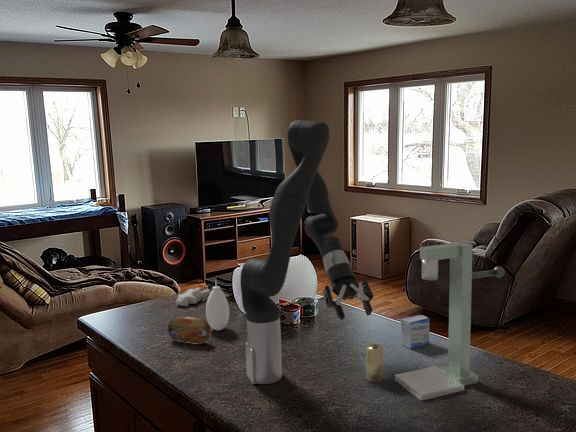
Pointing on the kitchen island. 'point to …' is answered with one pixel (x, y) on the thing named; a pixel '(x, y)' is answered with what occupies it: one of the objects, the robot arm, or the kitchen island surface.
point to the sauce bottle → (217, 309)
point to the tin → (189, 329)
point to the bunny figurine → (191, 296)
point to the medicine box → (415, 331)
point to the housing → (374, 363)
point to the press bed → (458, 369)
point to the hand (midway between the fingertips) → (356, 316)
